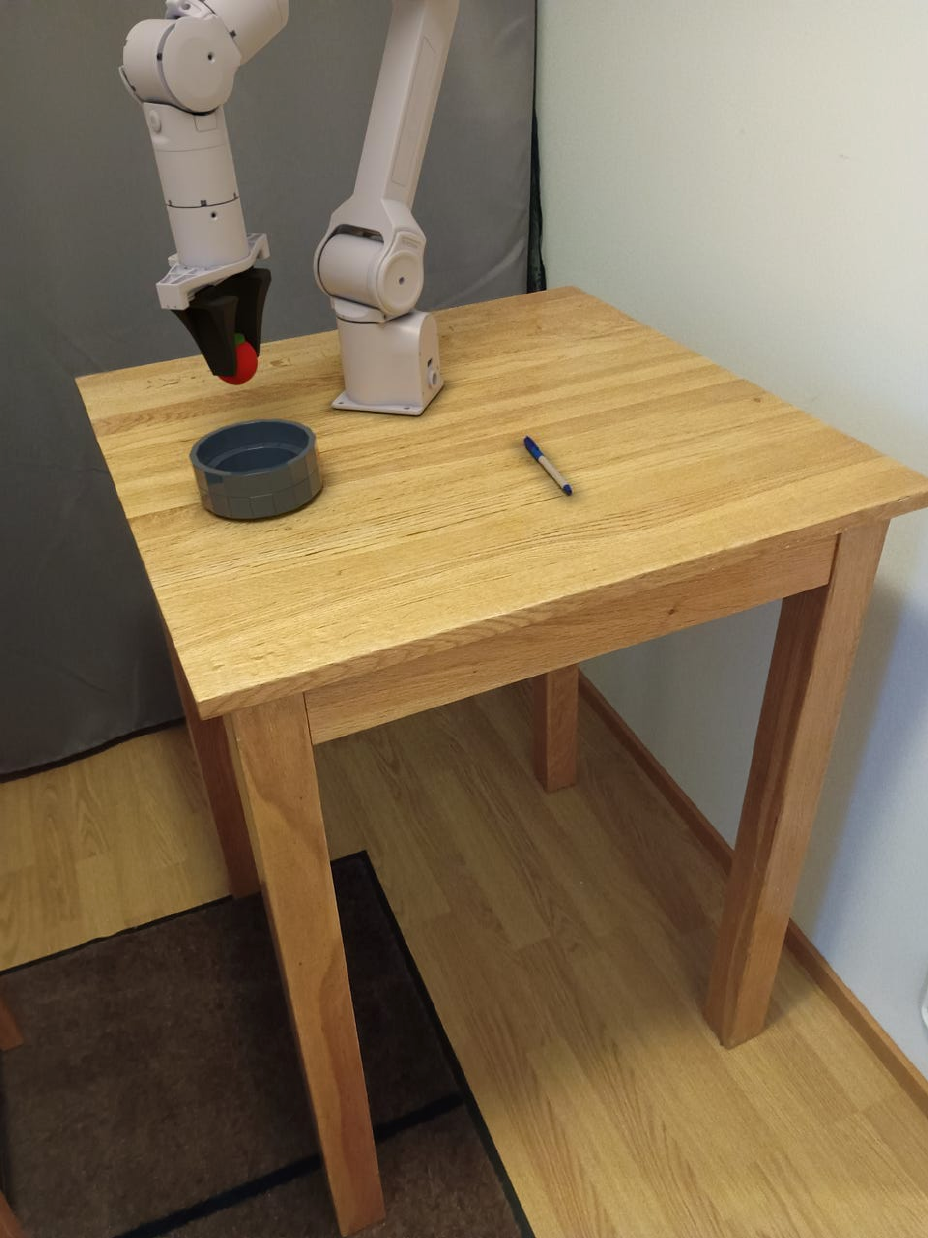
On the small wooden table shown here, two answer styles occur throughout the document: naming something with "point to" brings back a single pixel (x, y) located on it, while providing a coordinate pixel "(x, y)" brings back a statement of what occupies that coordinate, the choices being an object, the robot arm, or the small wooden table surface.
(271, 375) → the small wooden table surface
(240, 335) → the tomato
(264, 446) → the dessert bowl
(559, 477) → the ballpoint pen
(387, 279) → the robot arm
